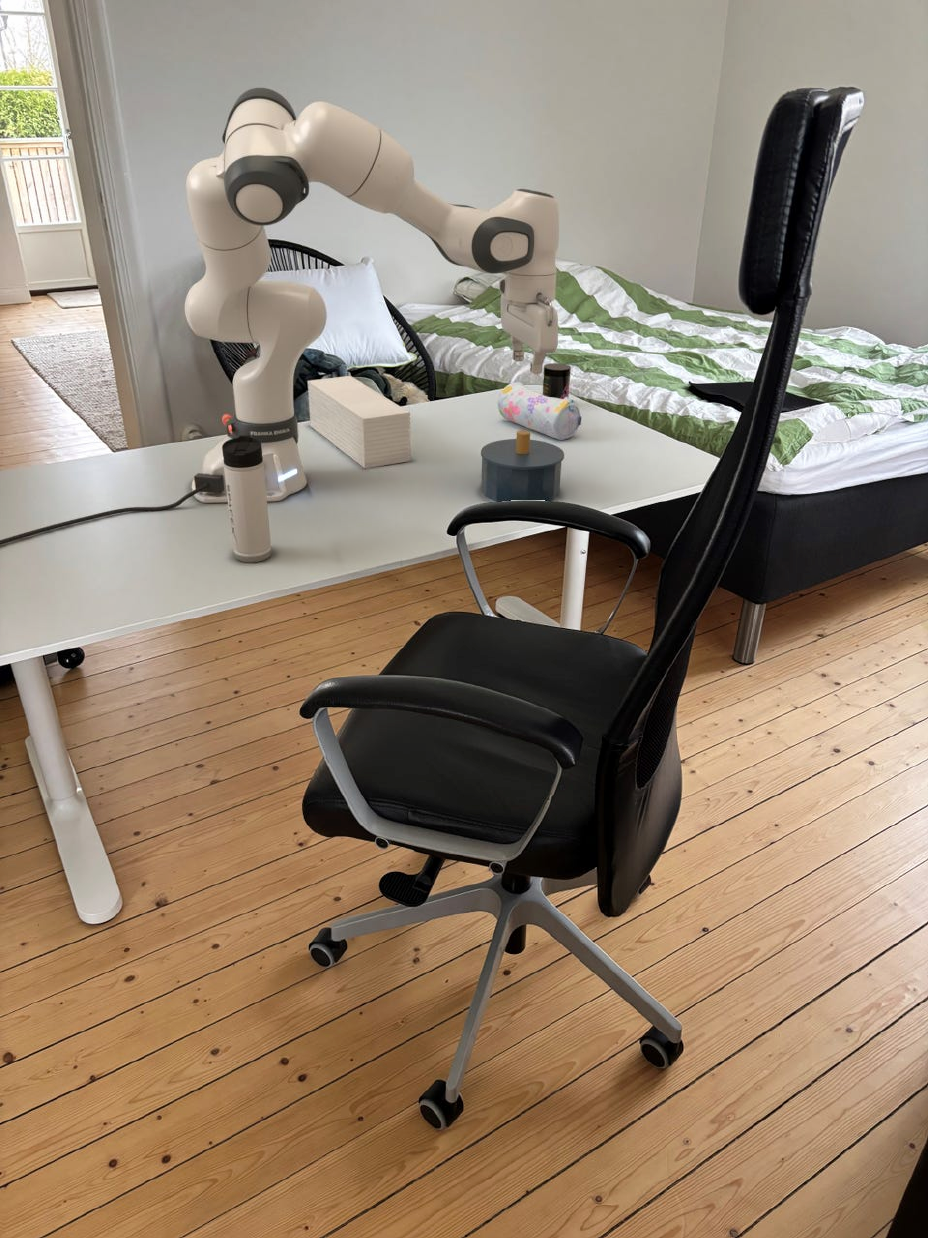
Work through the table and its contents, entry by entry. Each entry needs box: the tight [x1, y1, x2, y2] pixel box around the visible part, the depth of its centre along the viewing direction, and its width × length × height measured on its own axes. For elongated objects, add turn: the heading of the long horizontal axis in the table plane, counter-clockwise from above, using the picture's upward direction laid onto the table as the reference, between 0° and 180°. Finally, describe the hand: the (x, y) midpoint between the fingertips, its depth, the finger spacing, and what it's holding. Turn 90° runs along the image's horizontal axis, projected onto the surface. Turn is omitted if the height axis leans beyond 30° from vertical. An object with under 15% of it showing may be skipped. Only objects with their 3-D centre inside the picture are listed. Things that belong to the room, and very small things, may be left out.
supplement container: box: [541, 362, 572, 399], centre depth 234 cm, size 7×7×10 cm
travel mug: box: [222, 435, 272, 564], centre depth 153 cm, size 6×7×20 cm
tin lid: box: [480, 429, 565, 470], centre depth 180 cm, size 16×16×5 cm
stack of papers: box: [307, 375, 411, 469], centre depth 207 cm, size 32×11×11 cm, turn 29°
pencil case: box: [497, 381, 582, 441], centre depth 218 cm, size 21×9×10 cm, turn 41°
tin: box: [480, 457, 562, 503], centre depth 183 cm, size 15×15×8 cm
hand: (526, 366), depth 173 cm, fingers open, 8 cm apart
